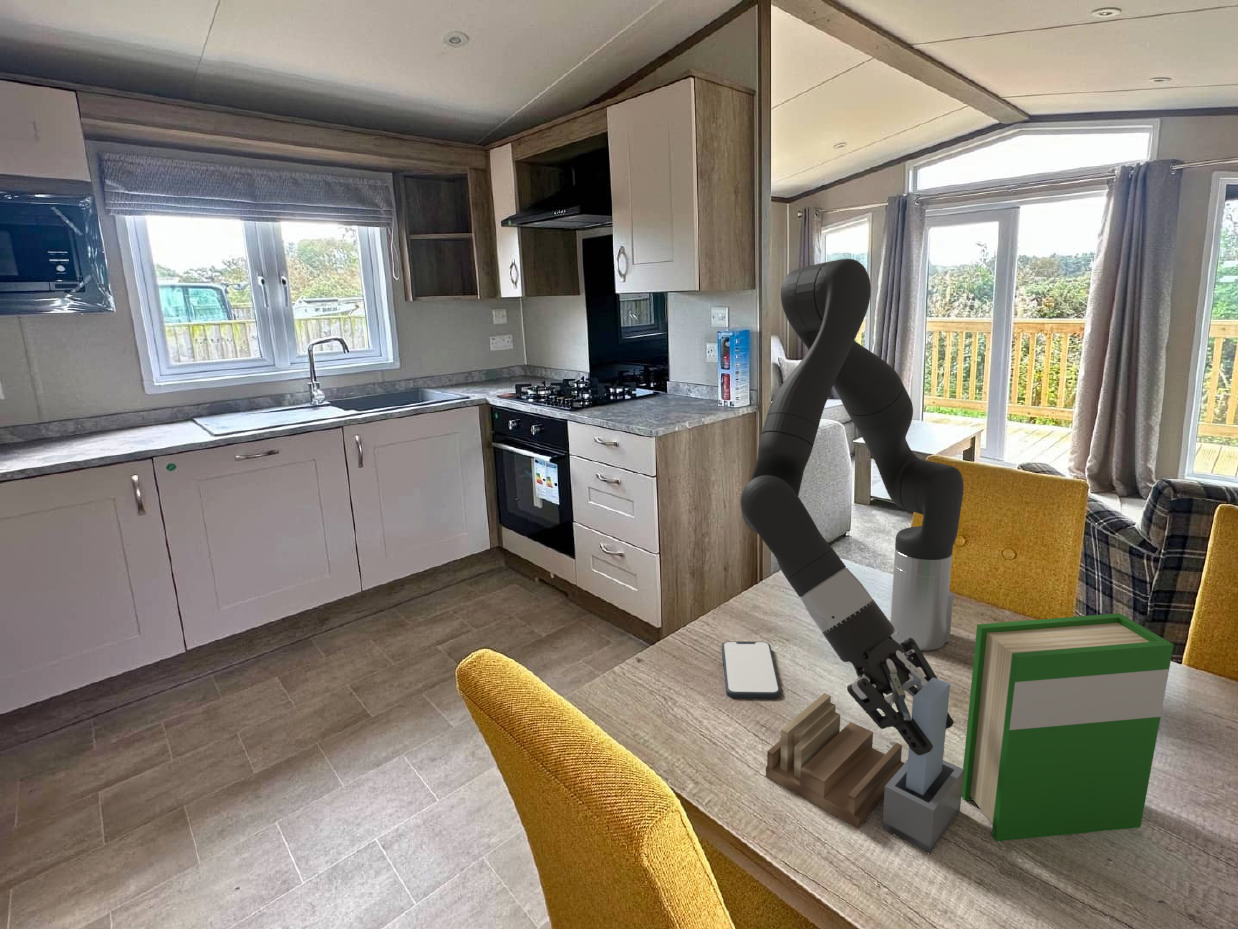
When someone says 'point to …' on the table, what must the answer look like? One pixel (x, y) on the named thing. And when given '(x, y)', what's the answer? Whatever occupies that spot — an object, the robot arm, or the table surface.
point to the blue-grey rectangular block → (929, 734)
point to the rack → (842, 774)
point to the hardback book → (1063, 724)
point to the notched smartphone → (750, 670)
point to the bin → (922, 807)
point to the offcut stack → (808, 734)
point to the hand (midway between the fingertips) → (936, 739)
